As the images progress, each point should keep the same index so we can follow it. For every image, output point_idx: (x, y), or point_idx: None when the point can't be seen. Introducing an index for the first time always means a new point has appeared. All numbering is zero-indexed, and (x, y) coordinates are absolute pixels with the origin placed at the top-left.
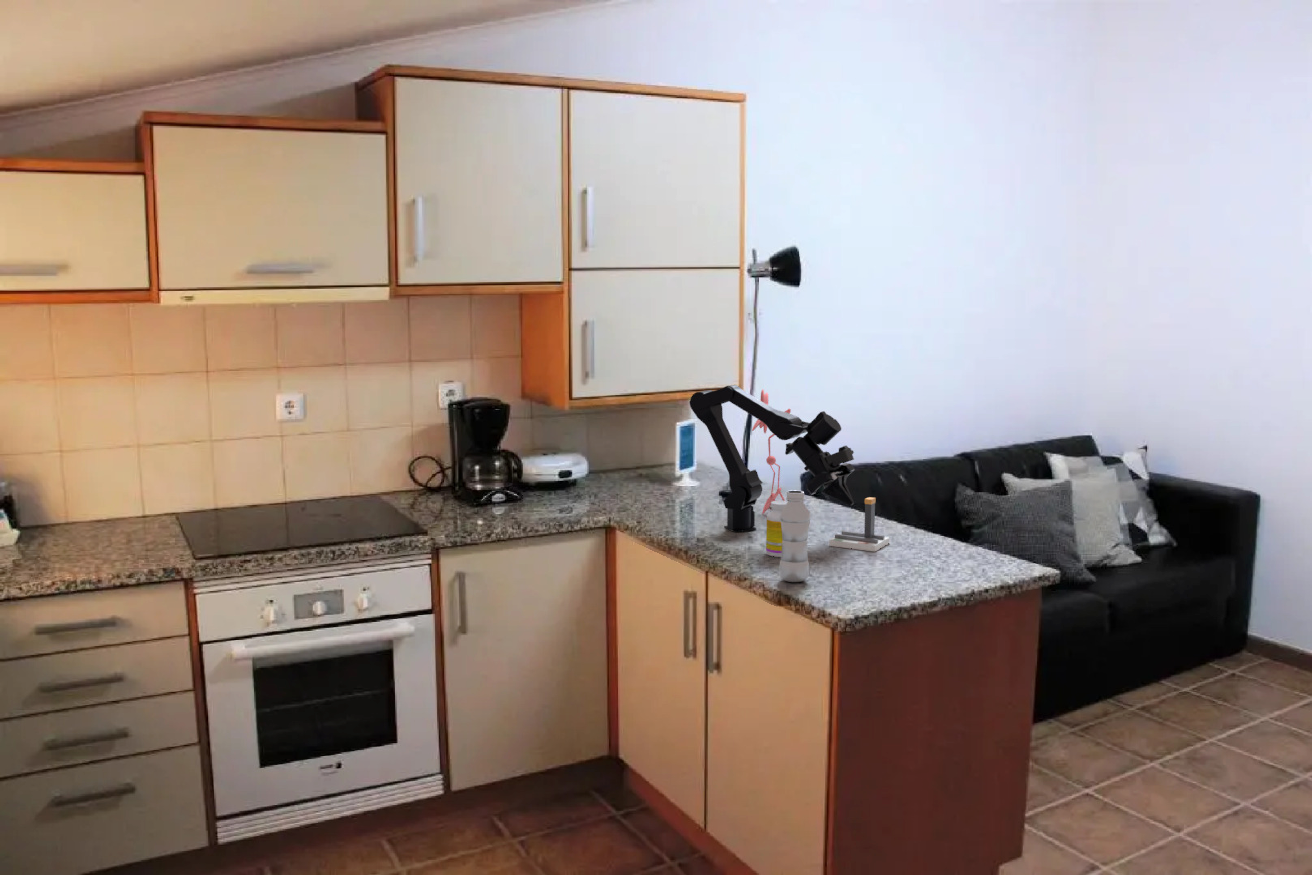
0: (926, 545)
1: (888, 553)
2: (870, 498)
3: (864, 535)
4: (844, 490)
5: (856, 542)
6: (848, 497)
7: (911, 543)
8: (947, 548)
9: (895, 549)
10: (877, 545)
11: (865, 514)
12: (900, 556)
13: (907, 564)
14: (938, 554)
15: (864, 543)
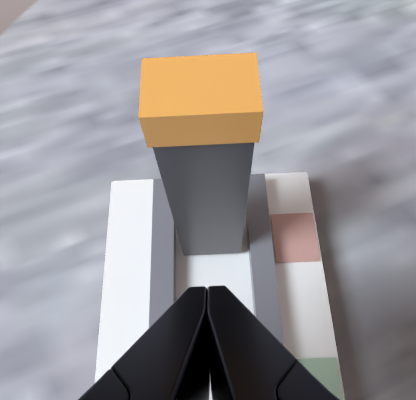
0: (86, 77)
1: (293, 135)
2: (202, 80)
3: (241, 245)
4: (281, 381)
5: (308, 270)
6: (254, 319)
7: (77, 126)
8: (100, 18)
9: None
10: (276, 176)
11: (247, 184)
12: (308, 87)
13: (397, 37)
14: (200, 13)
15: (310, 224)
